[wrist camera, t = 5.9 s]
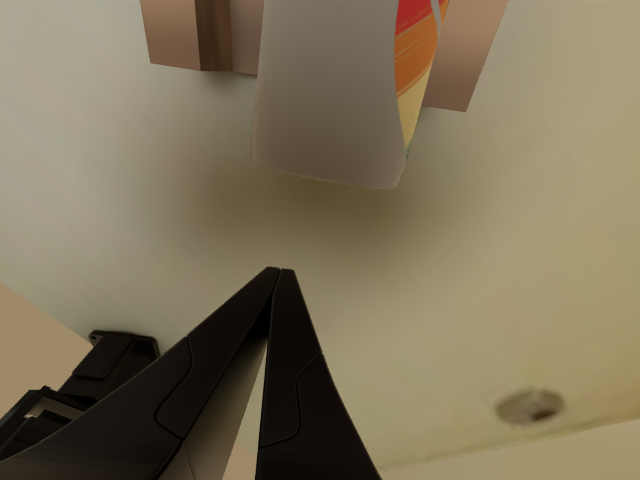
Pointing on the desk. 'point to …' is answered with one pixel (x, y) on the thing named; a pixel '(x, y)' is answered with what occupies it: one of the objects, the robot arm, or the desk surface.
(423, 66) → the lotion bottle
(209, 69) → the cradle
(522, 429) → the desk surface
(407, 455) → the desk surface
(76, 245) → the desk surface
